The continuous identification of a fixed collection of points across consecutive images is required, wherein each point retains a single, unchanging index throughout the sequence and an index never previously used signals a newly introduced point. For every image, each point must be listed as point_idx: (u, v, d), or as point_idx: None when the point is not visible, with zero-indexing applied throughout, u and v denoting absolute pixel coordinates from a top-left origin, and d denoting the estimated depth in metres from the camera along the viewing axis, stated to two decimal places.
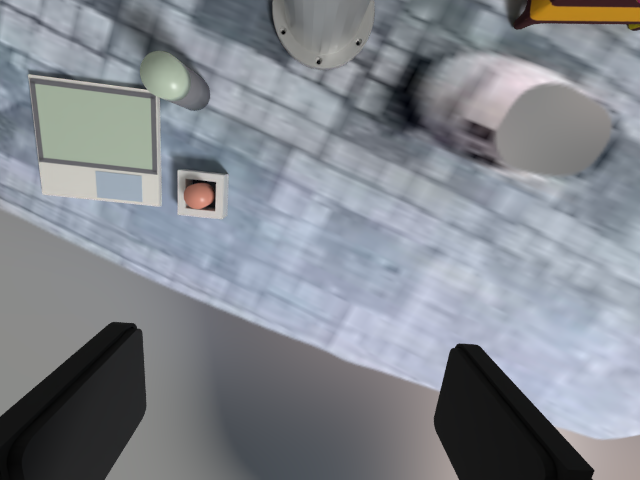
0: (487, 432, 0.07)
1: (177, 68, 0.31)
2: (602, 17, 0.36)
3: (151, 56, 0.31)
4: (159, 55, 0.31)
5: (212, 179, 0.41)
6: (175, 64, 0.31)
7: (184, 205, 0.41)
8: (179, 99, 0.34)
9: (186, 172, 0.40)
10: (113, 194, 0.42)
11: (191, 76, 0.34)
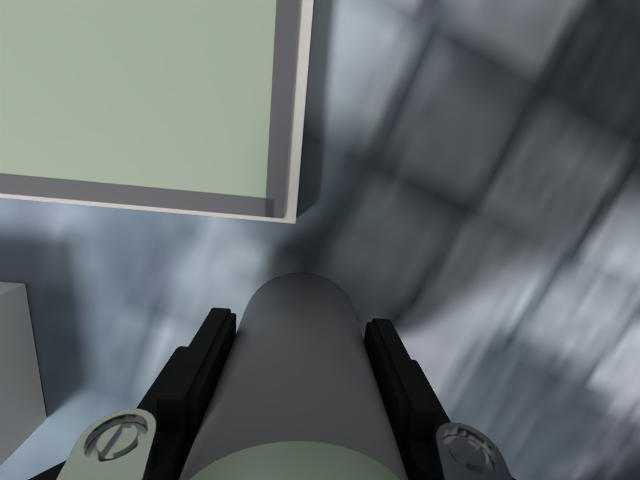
0: None
1: None
2: None
3: None
4: None
5: None
6: None
7: None
8: None
9: None
10: None
11: None
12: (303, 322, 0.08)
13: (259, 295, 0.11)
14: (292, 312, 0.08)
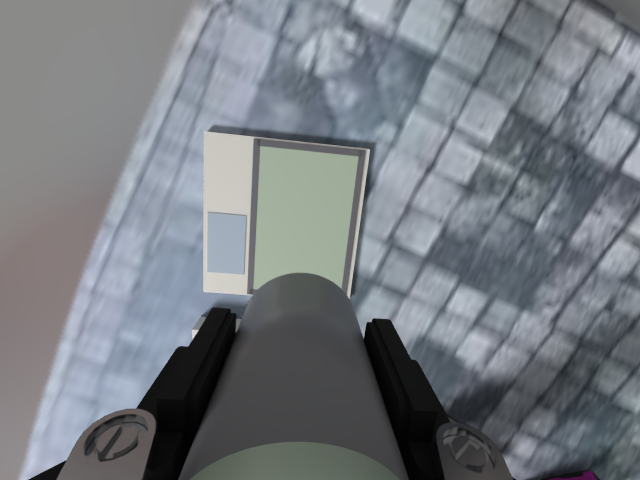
0: None
1: None
2: None
3: None
4: None
5: None
6: None
7: None
8: None
9: None
10: (215, 234, 0.29)
11: None
12: (303, 322, 0.08)
13: (259, 295, 0.11)
14: (292, 312, 0.08)
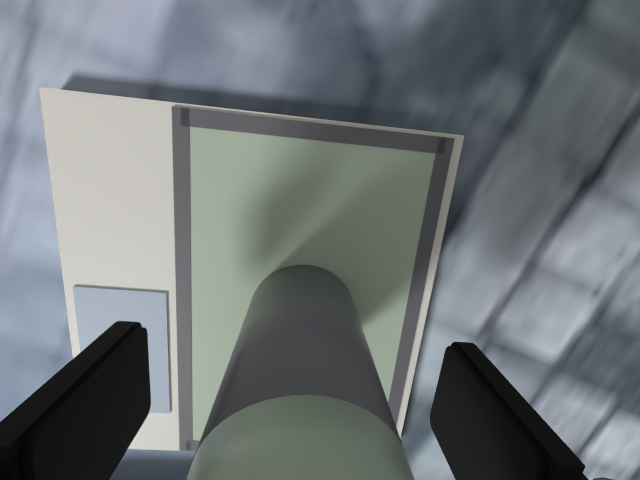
0: (481, 429, 0.07)
1: None
2: None
3: None
4: None
5: None
6: None
7: None
8: None
9: None
10: (97, 333, 0.13)
11: None
12: (306, 306, 0.09)
13: (265, 284, 0.12)
14: (296, 298, 0.09)
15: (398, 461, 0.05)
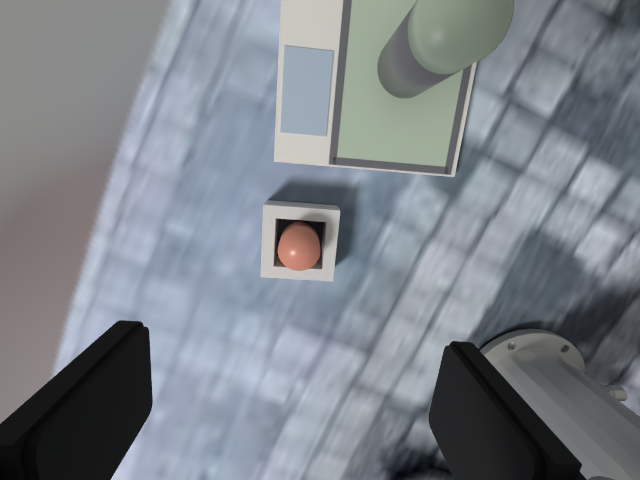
0: (479, 428, 0.07)
1: (476, 49, 0.15)
2: None
3: None
4: (504, 9, 0.14)
5: (325, 264, 0.25)
6: (484, 45, 0.15)
7: (280, 217, 0.24)
8: (411, 45, 0.16)
9: (336, 224, 0.24)
10: (292, 79, 0.23)
11: (449, 75, 0.17)
12: None
13: None
14: None
15: None
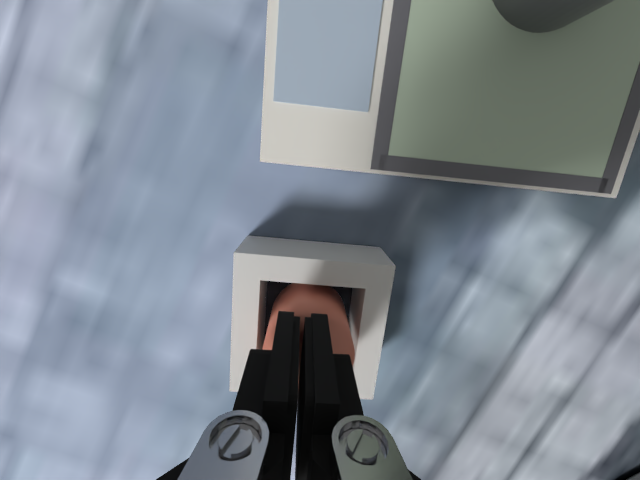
0: (302, 385, 0.08)
1: None
2: None
3: None
4: None
5: (360, 368, 0.12)
6: None
7: (270, 278, 0.11)
8: None
9: (385, 293, 0.12)
10: None
11: None
12: None
13: None
14: None
15: None
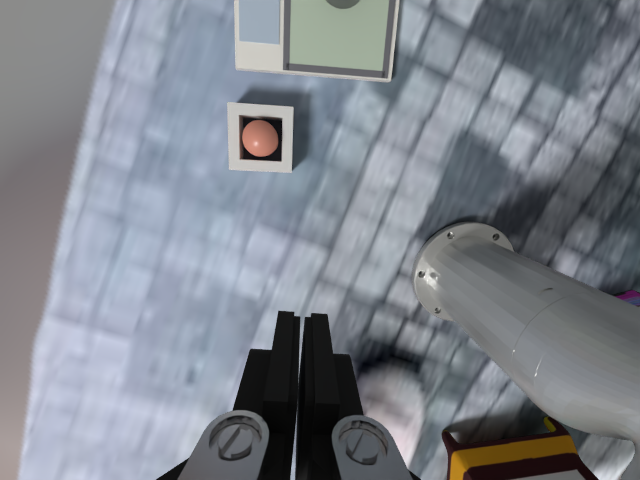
0: (302, 385, 0.08)
1: None
2: None
3: None
4: None
5: (284, 156, 0.29)
6: None
7: (243, 113, 0.28)
8: None
9: (291, 119, 0.29)
10: None
11: None
12: None
13: None
14: None
15: None
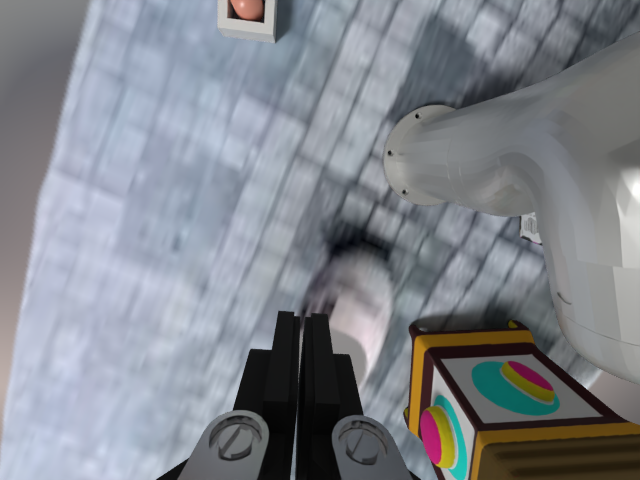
0: (302, 385, 0.08)
1: None
2: (414, 389, 0.45)
3: None
4: None
5: (267, 18, 0.33)
6: None
7: None
8: None
9: None
10: None
11: None
12: None
13: None
14: None
15: None
